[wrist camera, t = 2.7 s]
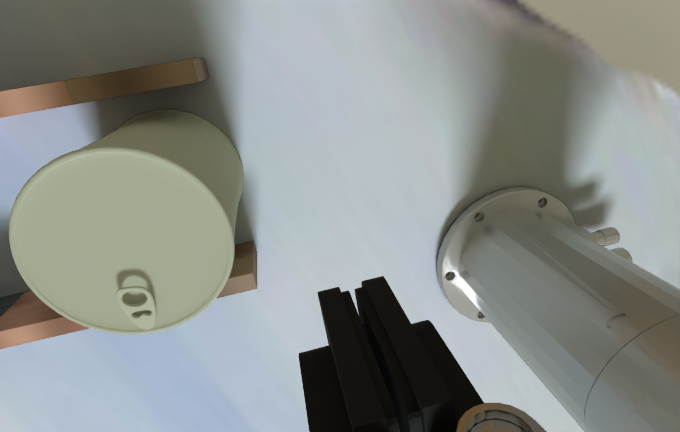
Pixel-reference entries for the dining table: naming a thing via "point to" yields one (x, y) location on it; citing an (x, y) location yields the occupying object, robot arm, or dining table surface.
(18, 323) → the channel
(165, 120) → the can
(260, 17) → the dining table surface
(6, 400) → the dining table surface
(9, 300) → the box
